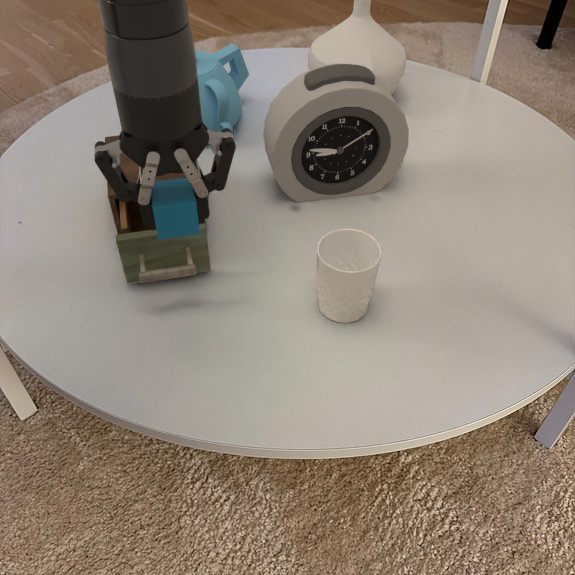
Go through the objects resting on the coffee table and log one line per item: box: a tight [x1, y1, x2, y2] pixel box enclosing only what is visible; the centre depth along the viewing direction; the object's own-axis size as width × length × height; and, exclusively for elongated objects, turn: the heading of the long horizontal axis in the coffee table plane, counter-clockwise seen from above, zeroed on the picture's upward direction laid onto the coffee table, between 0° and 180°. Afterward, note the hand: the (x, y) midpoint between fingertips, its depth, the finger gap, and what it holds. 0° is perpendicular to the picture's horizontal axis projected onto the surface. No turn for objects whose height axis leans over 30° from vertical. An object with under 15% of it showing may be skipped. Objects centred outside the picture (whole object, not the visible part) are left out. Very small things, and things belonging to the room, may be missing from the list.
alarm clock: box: [262, 64, 410, 203], centre depth 92 cm, size 21×8×20 cm, turn 102°
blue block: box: [151, 178, 200, 240], centre depth 64 cm, size 4×4×4 cm
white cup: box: [316, 228, 383, 324], centre depth 77 cm, size 8×8×10 cm
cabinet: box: [104, 134, 208, 235], centre depth 90 cm, size 15×13×10 cm
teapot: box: [195, 43, 250, 135], centre depth 106 cm, size 19×19×14 cm
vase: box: [307, 0, 407, 95], centre depth 111 cm, size 18×18×19 cm
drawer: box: [115, 200, 212, 285], centre depth 82 cm, size 18×11×8 cm, turn 13°
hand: (177, 221), depth 65 cm, fingers closed on blue block, 4 cm apart
